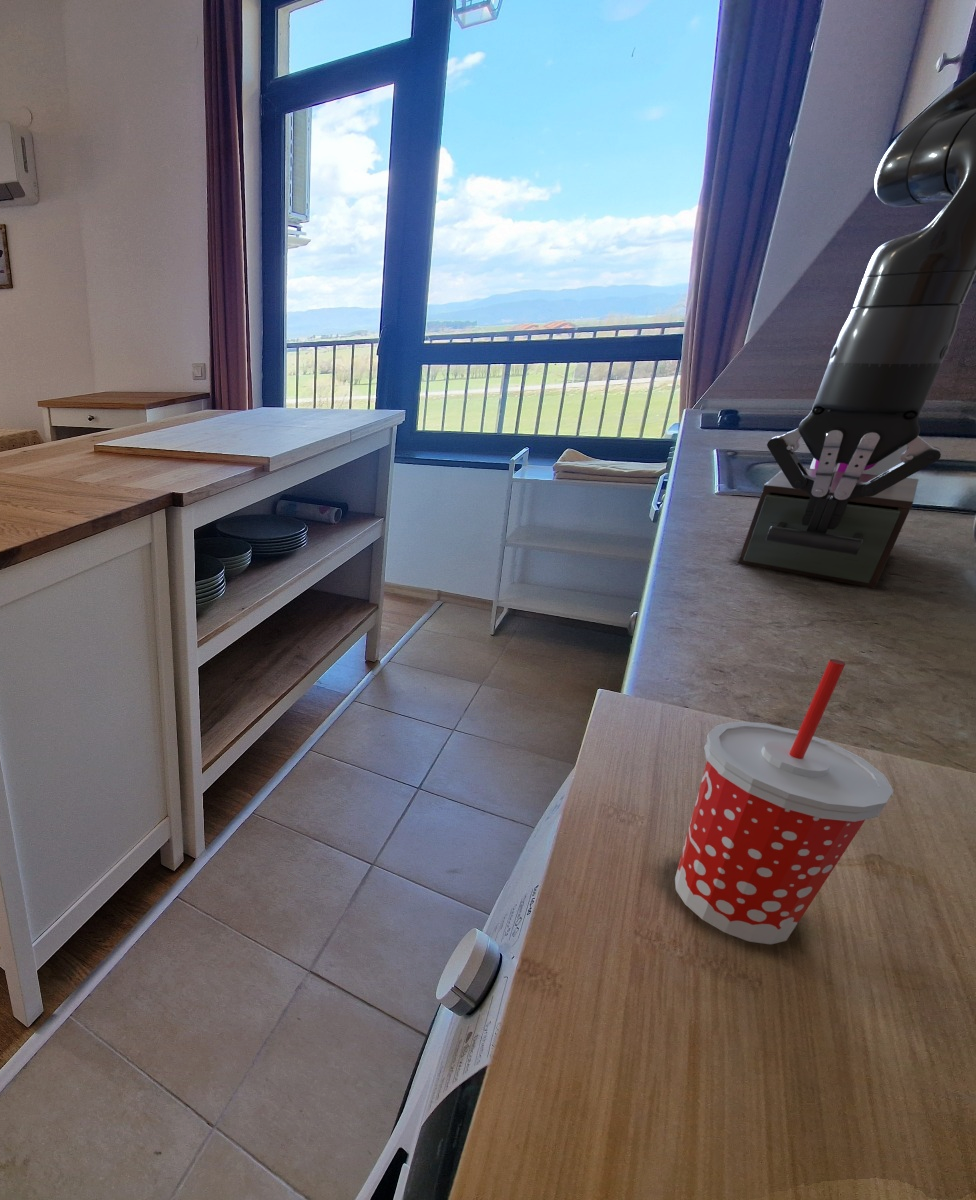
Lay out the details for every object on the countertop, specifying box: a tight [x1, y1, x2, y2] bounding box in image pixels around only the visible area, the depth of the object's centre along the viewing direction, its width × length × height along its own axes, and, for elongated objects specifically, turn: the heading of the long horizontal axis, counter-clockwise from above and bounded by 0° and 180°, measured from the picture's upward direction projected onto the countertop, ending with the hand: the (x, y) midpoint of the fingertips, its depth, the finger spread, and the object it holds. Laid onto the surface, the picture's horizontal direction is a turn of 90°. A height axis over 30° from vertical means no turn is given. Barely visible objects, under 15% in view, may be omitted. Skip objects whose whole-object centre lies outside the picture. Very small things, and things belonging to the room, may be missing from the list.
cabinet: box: [737, 467, 919, 589], centre depth 74 cm, size 15×12×10 cm
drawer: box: [744, 494, 900, 583], centre depth 71 cm, size 19×10×8 cm, turn 131°
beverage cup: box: [674, 658, 894, 945], centre depth 29 cm, size 6×6×14 cm
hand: (816, 531), depth 67 cm, fingers closed
